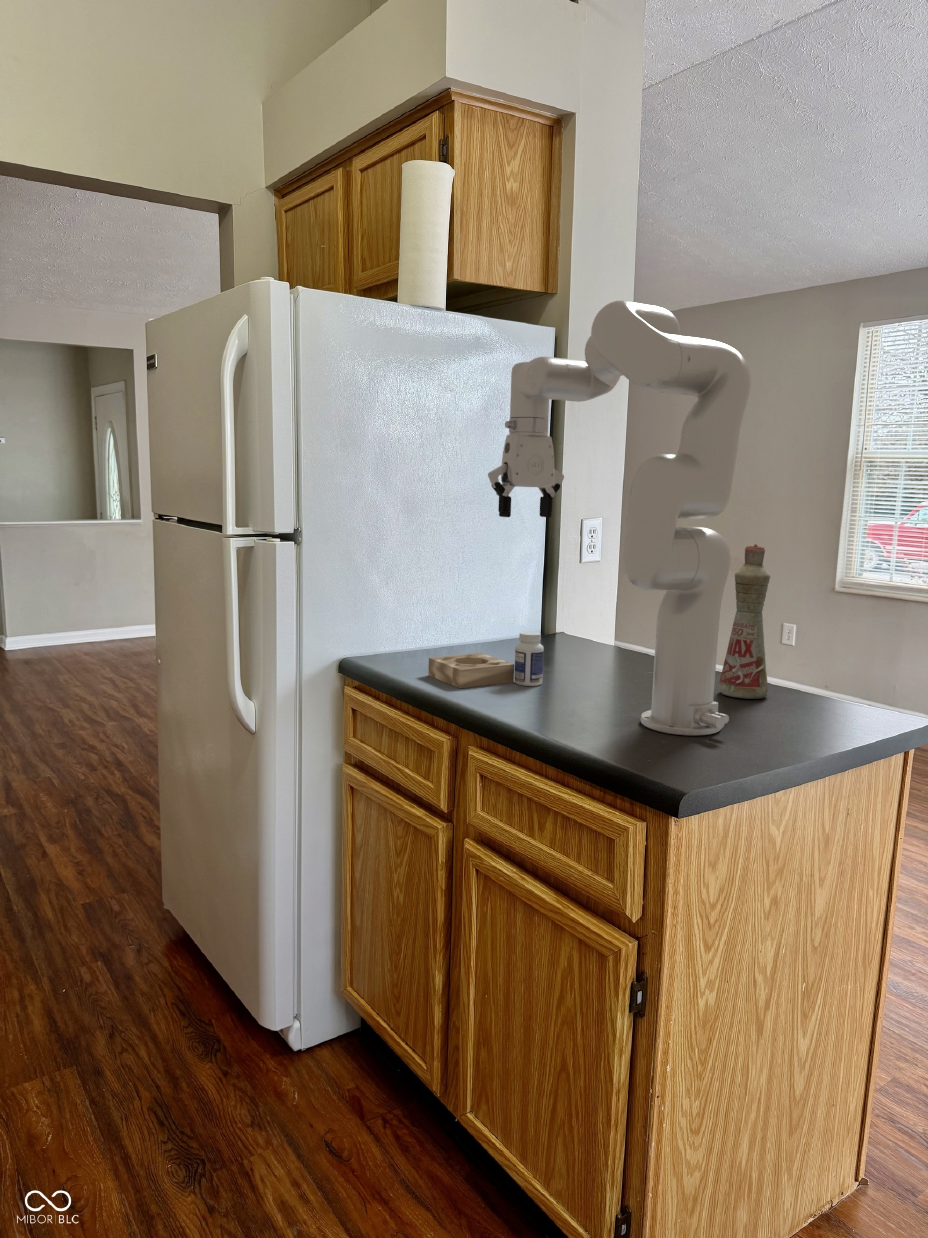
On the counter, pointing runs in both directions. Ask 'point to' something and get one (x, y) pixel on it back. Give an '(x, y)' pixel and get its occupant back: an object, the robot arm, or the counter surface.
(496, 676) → the collar
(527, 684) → the pill bottle
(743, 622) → the bottle
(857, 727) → the counter surface
